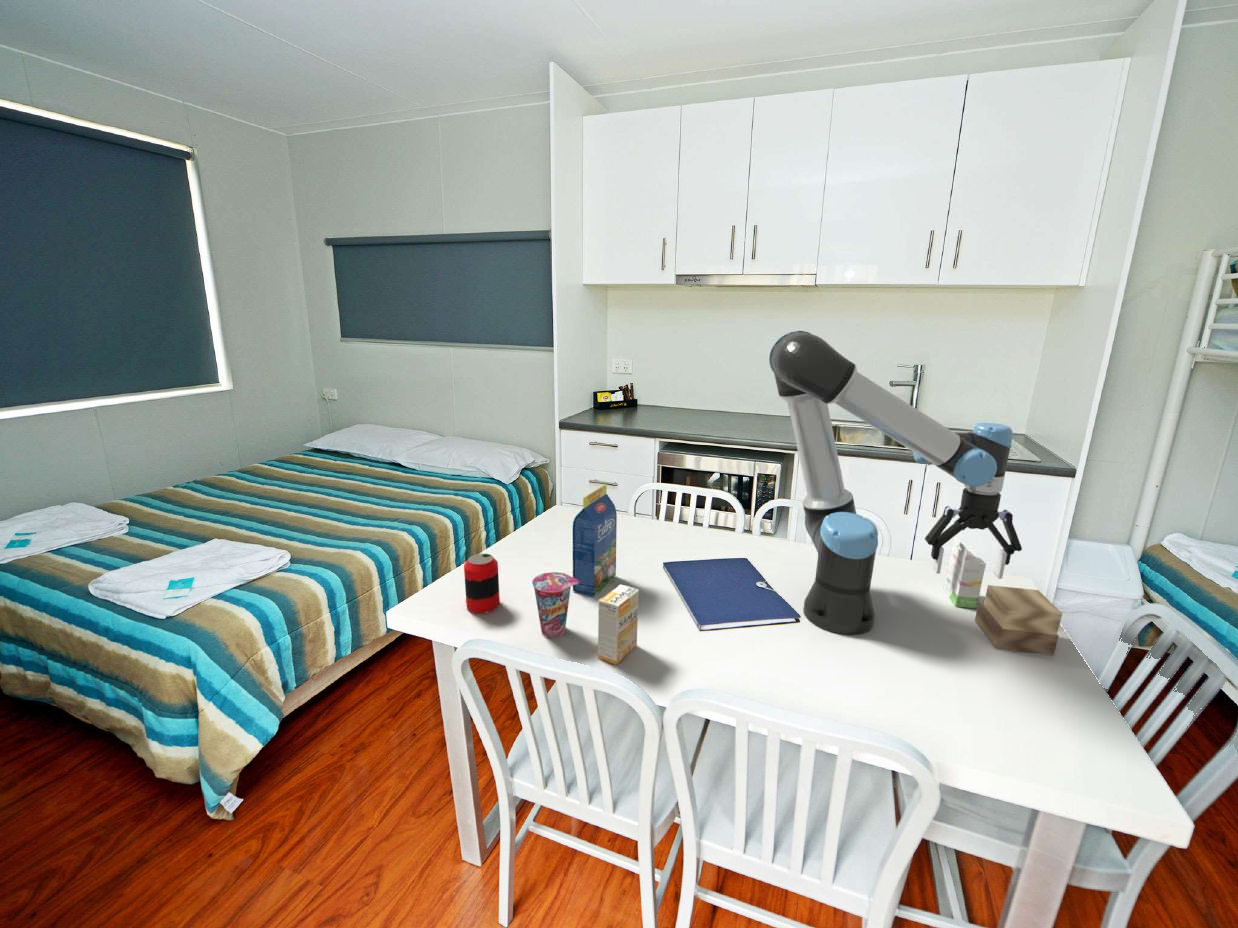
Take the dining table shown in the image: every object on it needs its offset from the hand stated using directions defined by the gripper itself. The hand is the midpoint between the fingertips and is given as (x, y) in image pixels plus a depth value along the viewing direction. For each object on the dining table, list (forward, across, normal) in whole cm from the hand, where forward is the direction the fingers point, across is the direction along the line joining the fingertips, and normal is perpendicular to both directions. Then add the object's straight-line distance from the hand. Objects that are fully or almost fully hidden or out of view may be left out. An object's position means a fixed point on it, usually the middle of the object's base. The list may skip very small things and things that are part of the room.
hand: (966, 573), depth 138 cm
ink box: (+7, 0, 0) cm, 7 cm away
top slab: (+2, +5, -16) cm, 17 cm away
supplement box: (+6, -78, -39) cm, 88 cm away
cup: (+6, -93, -34) cm, 99 cm away
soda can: (+5, -112, -28) cm, 116 cm away
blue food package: (+6, -90, -12) cm, 90 cm away
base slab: (+7, +5, -16) cm, 18 cm away
